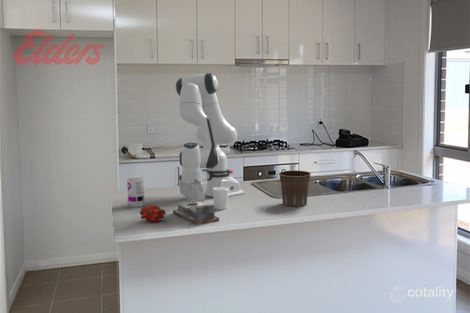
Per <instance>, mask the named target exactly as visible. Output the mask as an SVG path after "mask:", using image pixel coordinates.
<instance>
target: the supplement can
mask: <svg viewBox="0 0 470 313" xmlns="http://www.w3.org/2000/svg"><path fill="white" fill-rule="evenodd" d="M126 180H127V202H128V203H127V204H128V206H129V207H130V208H141V207H142V208H143V207H144V206H145V205H146V204H145V200H146V199H145V180H144V177H143V176H142V175H130V176H128V178H127V179H126Z"/></svg>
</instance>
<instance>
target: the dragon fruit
mask: <svg viewBox="0 0 470 313" xmlns="http://www.w3.org/2000/svg"><path fill="white" fill-rule="evenodd" d="M139 214H140V219H141V220H146V222H149V223H151V222H154V223H160V222H161V221H162V220H161V219H163V218H164V217H165V215H167V211H166V210H165V209H163V208H161V207H160V206H158V205H157V204H155V205H154V204H145V205H144V206H142V208H141V209H140V212H139Z"/></svg>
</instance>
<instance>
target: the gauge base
mask: <svg viewBox="0 0 470 313" xmlns="http://www.w3.org/2000/svg"><path fill="white" fill-rule="evenodd" d="M172 213H173V215H176V216H177V217H179V218H181V219H183V220H184V221H187V222H188V223H190V224H191V225H193V226H198V225H205V224H210V223H217V222H220V217H218V216H216V215H215V208H214V203H212V204H211V203H210V204H205V205H203V206H196V213H195V212H193V211H191V210H190V207H185V206H183V205H182V204H177V209H174V210H172Z"/></svg>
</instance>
